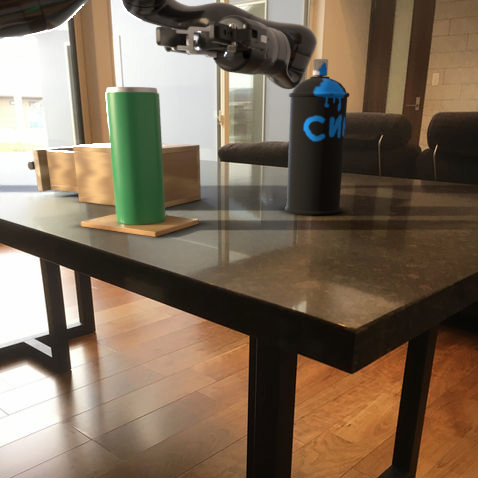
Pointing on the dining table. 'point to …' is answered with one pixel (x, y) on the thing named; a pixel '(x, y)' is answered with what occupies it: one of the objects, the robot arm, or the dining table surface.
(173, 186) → the cabinet
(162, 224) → the cork mat
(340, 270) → the dining table surface
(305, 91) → the aerosol can
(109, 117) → the green can
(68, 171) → the drawer
